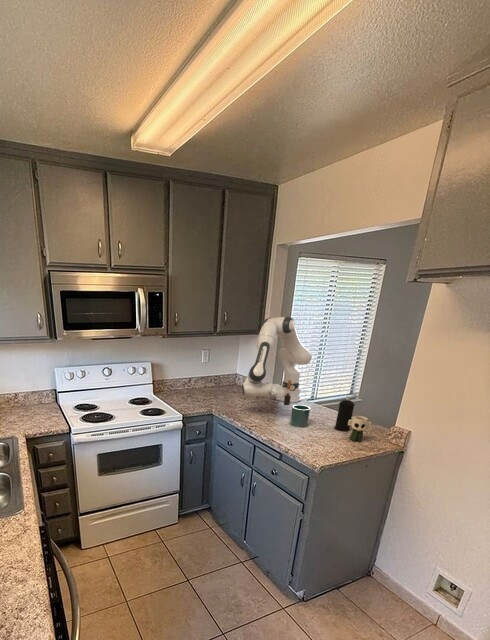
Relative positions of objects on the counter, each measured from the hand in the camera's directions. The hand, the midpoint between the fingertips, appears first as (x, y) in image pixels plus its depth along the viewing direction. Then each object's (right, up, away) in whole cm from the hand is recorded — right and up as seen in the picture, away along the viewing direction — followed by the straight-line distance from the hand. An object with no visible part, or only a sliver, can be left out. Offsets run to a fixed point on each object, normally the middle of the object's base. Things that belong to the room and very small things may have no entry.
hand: (289, 391), depth 227 cm
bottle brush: (-1, -8, +3) cm, 9 cm away
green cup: (+3, -21, -6) cm, 23 cm away
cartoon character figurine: (+26, -31, -29) cm, 50 cm away
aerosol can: (+27, -25, -13) cm, 39 cm away
